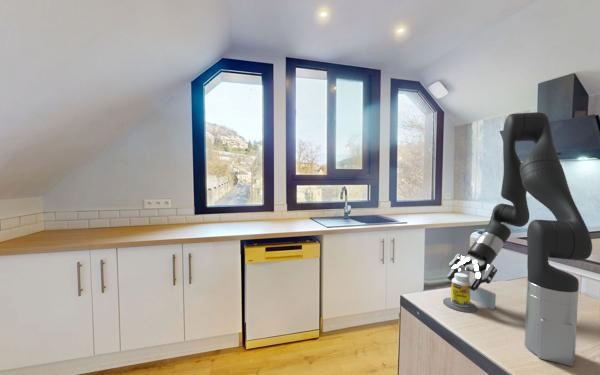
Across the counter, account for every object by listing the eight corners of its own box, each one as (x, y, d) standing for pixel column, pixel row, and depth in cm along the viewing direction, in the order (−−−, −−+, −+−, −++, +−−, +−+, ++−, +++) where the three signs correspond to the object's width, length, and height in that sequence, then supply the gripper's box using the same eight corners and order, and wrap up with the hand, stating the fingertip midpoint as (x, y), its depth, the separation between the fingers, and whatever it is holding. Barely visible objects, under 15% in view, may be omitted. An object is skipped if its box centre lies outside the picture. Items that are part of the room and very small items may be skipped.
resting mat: (479, 315, 84) (479, 314, 84) (443, 307, 89) (443, 306, 88) (474, 302, 93) (474, 301, 93) (442, 296, 97) (442, 295, 97)
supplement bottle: (449, 304, 90) (450, 275, 90) (452, 298, 95) (453, 270, 94) (468, 309, 87) (469, 279, 86) (470, 303, 91) (471, 274, 91)
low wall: (495, 308, 88) (495, 293, 88) (491, 309, 88) (492, 294, 88) (468, 295, 98) (469, 282, 98) (465, 296, 98) (466, 282, 97)
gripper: (462, 237, 99) (437, 270, 96) (501, 246, 86) (473, 285, 83) (472, 250, 101) (448, 282, 98) (512, 261, 87) (485, 299, 84)
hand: (459, 283), depth 90 cm, fingers open, 8 cm apart
